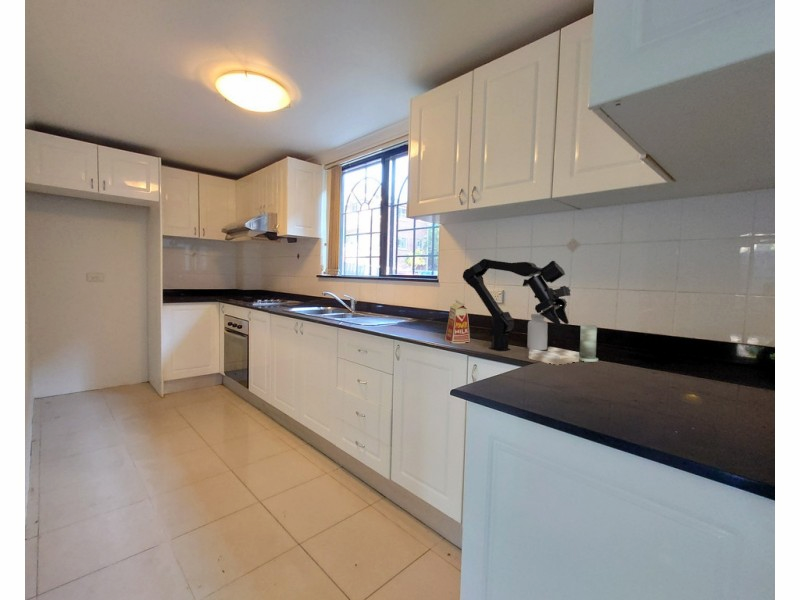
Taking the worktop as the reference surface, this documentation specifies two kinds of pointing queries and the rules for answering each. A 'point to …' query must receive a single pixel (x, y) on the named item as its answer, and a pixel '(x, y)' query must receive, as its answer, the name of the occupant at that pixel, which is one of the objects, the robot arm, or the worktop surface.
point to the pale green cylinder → (588, 343)
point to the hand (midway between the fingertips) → (563, 324)
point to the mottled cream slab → (554, 356)
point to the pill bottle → (537, 332)
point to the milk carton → (458, 324)
